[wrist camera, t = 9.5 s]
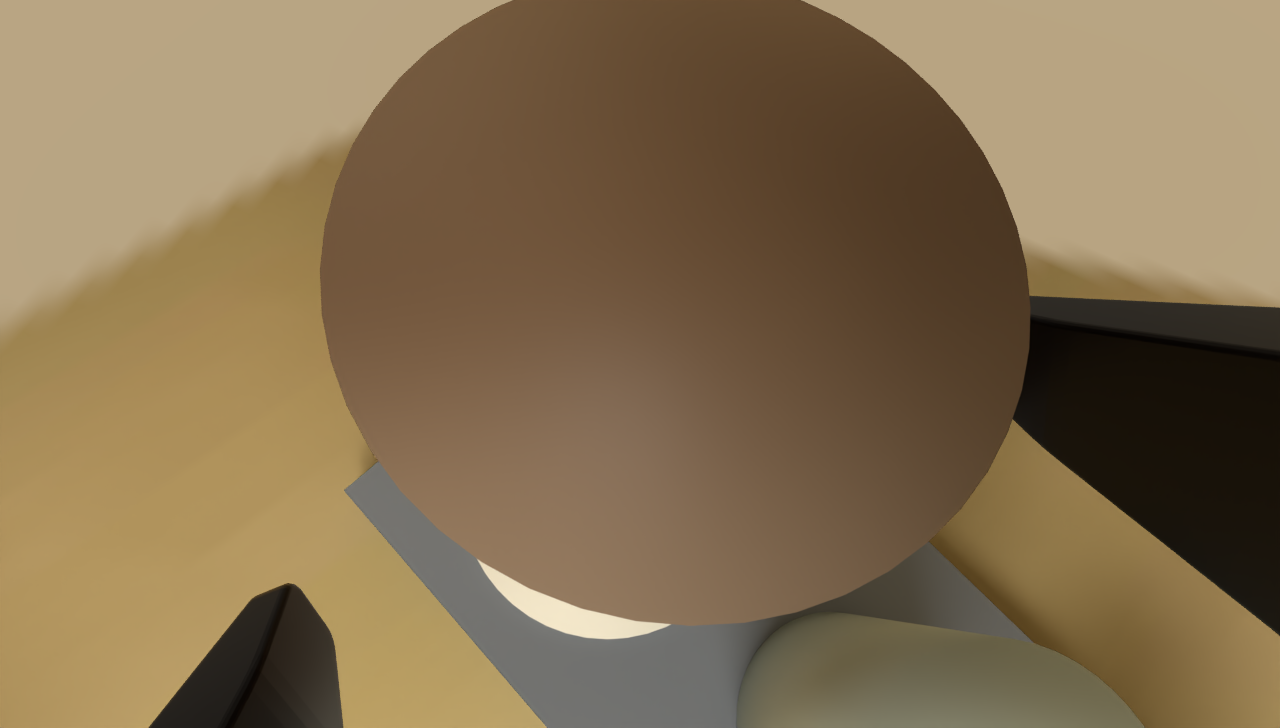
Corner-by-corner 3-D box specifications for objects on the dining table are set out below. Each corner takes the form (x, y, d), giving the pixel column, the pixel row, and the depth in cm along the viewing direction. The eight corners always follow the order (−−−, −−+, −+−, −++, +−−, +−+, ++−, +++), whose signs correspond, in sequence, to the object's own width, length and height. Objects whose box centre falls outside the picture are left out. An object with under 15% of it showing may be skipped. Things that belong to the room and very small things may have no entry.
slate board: (1287, 913, 17) (1350, 943, 15) (1075, 1327, 14) (1127, 1407, 13) (625, 269, 20) (628, 248, 19) (359, 495, 18) (340, 489, 16)
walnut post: (737, 540, 17) (1165, 452, 4) (551, 617, 16) (444, 774, 4) (665, 365, 18) (841, -82, 6) (488, 426, 17) (247, 55, 5)
